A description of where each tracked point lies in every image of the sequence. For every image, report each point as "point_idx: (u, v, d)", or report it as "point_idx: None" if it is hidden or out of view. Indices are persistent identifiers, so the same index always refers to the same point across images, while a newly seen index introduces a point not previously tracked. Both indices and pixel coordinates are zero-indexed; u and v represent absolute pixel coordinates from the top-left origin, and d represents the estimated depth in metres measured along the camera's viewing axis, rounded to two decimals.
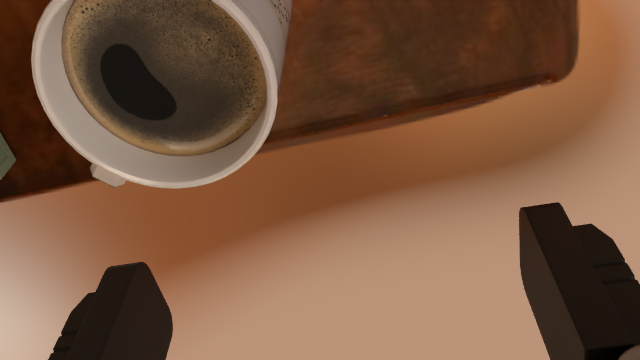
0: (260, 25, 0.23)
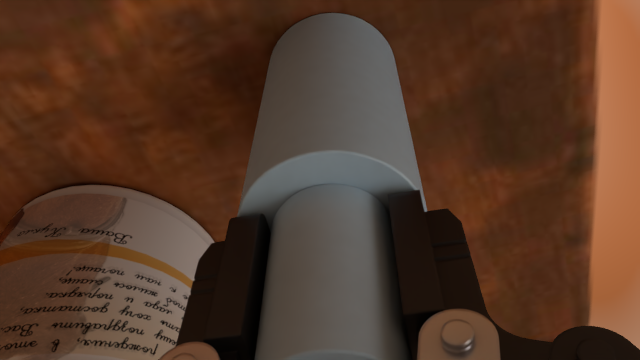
0: None
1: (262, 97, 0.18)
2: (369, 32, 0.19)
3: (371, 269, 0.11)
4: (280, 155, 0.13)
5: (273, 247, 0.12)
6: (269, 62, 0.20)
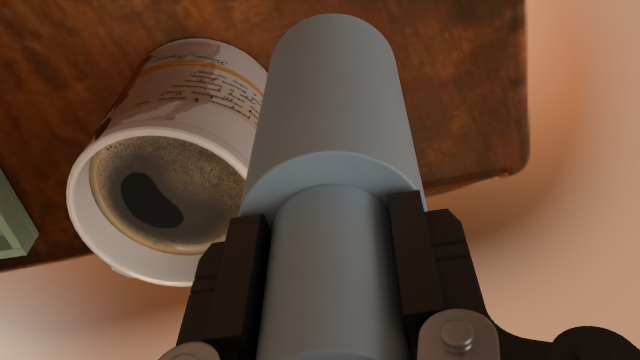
0: None
1: (263, 97, 0.18)
2: (369, 33, 0.19)
3: (372, 270, 0.11)
4: (281, 155, 0.13)
5: (274, 247, 0.12)
6: None
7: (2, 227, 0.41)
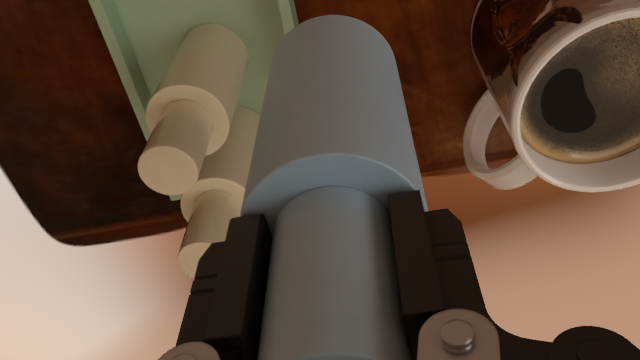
0: None
1: None
2: (370, 34, 0.19)
3: (374, 271, 0.11)
4: (282, 157, 0.13)
5: (275, 249, 0.12)
6: None
7: None
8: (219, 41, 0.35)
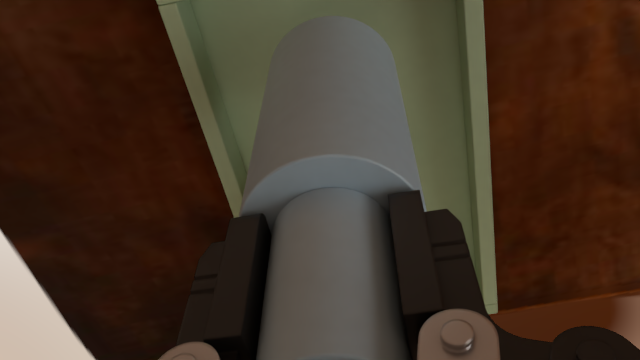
0: None
1: None
2: (369, 35, 0.19)
3: (372, 273, 0.11)
4: (281, 158, 0.13)
5: (274, 251, 0.12)
6: None
7: (487, 276, 0.28)
8: None
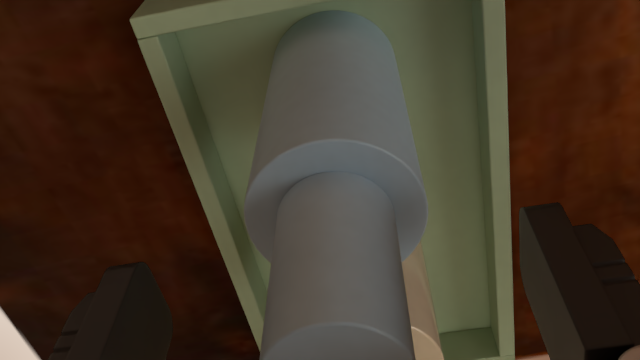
0: None
1: None
2: (370, 29, 0.19)
3: (374, 250, 0.11)
4: (286, 143, 0.13)
5: (279, 231, 0.13)
6: None
7: (504, 327, 0.26)
8: None
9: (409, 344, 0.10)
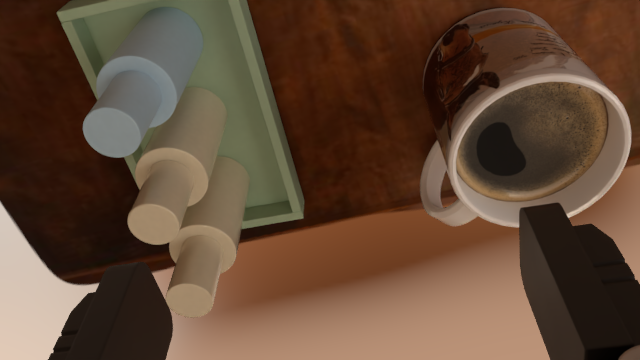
0: None
1: None
2: (180, 15, 0.38)
3: (132, 93, 0.30)
4: (110, 59, 0.32)
5: None
6: None
7: (289, 191, 0.44)
8: (200, 104, 0.40)
9: (135, 119, 0.29)
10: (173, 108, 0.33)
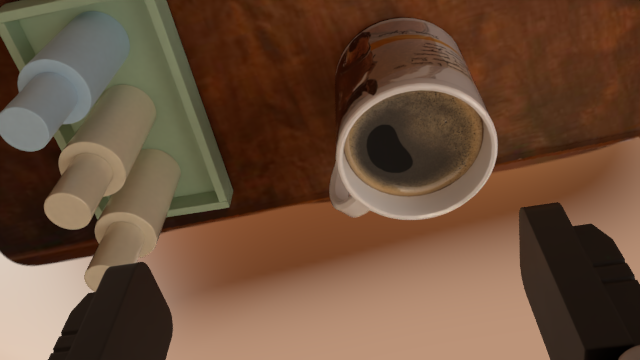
0: None
1: None
2: (106, 19, 0.41)
3: (44, 93, 0.33)
4: (29, 61, 0.35)
5: None
6: None
7: (215, 182, 0.48)
8: (126, 101, 0.43)
9: (43, 117, 0.32)
10: (89, 106, 0.37)
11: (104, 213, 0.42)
